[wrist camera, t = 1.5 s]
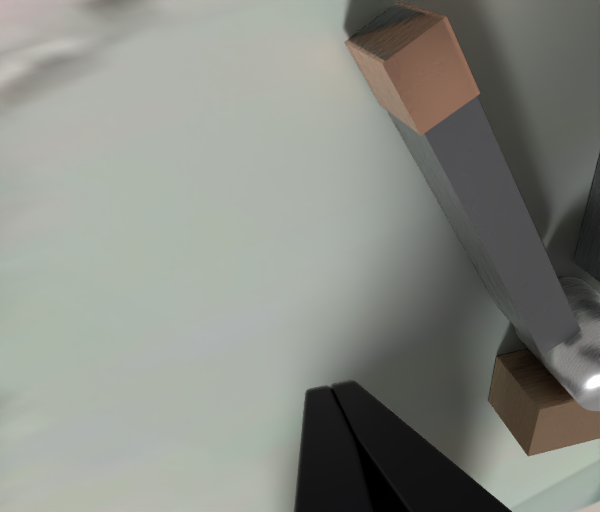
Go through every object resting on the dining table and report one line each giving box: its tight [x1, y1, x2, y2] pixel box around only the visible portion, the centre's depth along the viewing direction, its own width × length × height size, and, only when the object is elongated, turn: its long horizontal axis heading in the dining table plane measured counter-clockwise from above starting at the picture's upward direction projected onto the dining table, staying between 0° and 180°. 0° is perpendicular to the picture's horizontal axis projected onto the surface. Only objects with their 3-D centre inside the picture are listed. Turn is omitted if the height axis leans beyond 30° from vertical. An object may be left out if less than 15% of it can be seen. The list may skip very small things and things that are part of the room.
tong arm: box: [345, 2, 581, 355], centre depth 17 cm, size 12×2×3 cm, turn 33°
